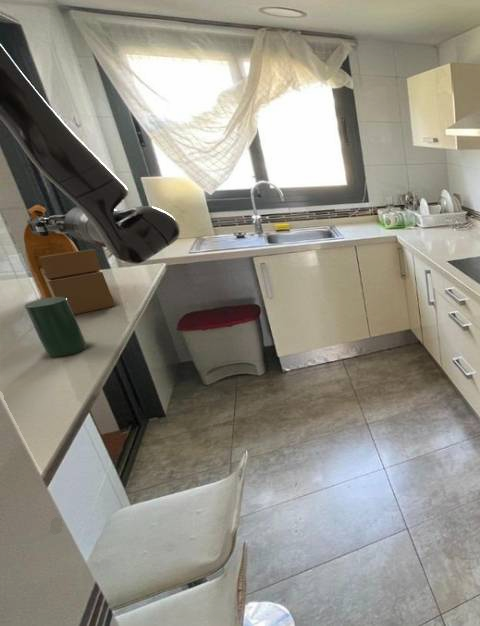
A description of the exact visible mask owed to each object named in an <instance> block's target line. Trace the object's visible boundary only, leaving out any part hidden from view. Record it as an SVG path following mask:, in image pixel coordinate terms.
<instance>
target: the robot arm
mask: <svg viewBox="0 0 480 626" xmlns="http://www.w3.org/2000/svg"><path fill="white" fill-rule="evenodd" d="M0 120H1V121H2V122H3V124H4V125H5V127H6V128H7V129H8V130H9V132H10V133H11V134H12V135H13V137H14V138H15V140H16V141H17V142H18V144H19V145H20V147H21V148H22V150H23V151H24V153H25V154H26V156H27V157H28V158H29V159H30V161H31V162H32V163H33V165H34V166H35V167H36V168H37V169H38V170H39V171H40V173H41V174H42V175H43V176H45V178H47V180H49V182H50V183H52V184H53V185H54V186H55V187H56V188H58V189H59V190H60V191H61V192H62V193H63V194H64V195H65V196H66V197H67V198H68V199H70V200H71V202H73V203H74V204H75V205H76V206H75V207H73V208H71V209H70V210H69V211H67V213H66V214H55V215H50V216H49V217H46V216H43V217H36V219H34V220H33V219H30V218H29V219H27V220H26V222H27V224H29V226H30V229H31V232H32V233H33V234H36V235H39V236H47V235H49V234H51V232H50V231H54V232H56V233H58V234H64V235H66V234H68V235H70V237H72V238H74V239H75V240H77V241H80V242H82V243H84V244H89V245H94V246H97V247H101V248H106V249H107V250H108V251H109V252H110V254H112V256H114V257H115V258H116V259H118V260H120V261H122V262H124V263H128V264H135V265H136V264H141V263H143V262H146V261H147V260H149V259H150V258H153V256H155V255H156V254H159V253H160V252H161V251H163V250H164V249H165V248H167V247H169V246H171V245H173V244H174V243H175V242H176V241H177V240H178V239H179V237H180V235H181V229H180V225H179V223H178V222H177V220H176V219H175V218H174V217H173V215H171V214H169V213H168V212H166V211H164V209H163V210H162V209H161V208H157V207H154V206H150V205H142V206H141V205H140V206H135V207H131V208H126V209H122V210H117V209H116V208H117V207H118V206H119V205H120V204H121V203H122V202H123V201H124V200H125V199H126V198H127V197H128V196H129V190H128V188H127V186H126V185H125V184H124V183H123V182H122V181H121V180H120V179H119V178H118V177H117V176H116V175H115V174H114V173H113V172H112V170H110V169H109V168H108V167H107V165H105V164H104V163H103V162H102V160H101V159H100V158H99V157H98V156H96V155H95V154H94V153H93V152H92V151H91V150H90V149H89V148H88V147H87V146H86V144H85V143H84V142H83V141H81V139H79V137H77V135H76V134H75V133H74V132H73V131H72V130H71V129H70V128H69V127H68V126H67V124H66V123H65V122H64V121H63V120H62V119H61V118H60V116H58V114H57V113H56V112H55V111H54V110H53V108H51V106H50V105H49V104H48V102H46V100H45V99H44V98H43V97H42V96H41V94H40V93H39V92H38V91H37V90H36V89H35V87H34V85H32V84H31V82H30V80H28V78H27V77H26V76H25V75H24V73H23V72H22V71H21V69H20V68H19V66H18V65H17V64H16V63H15V61H14V60H13V58H12V57H11V56H10V54H9V53H8V52H7V50H5V48H4V47H3V45H2V44H1V43H0Z"/></svg>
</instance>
